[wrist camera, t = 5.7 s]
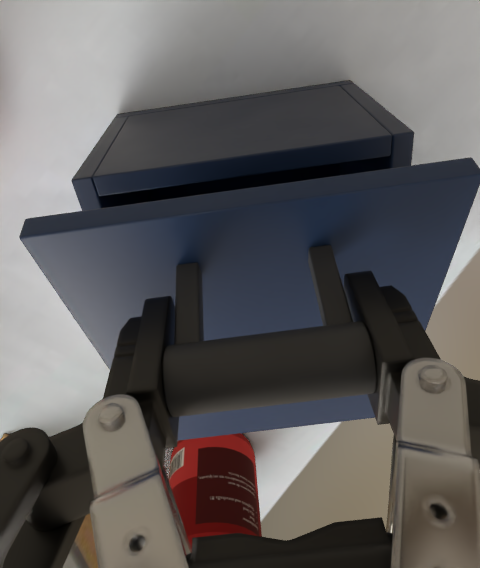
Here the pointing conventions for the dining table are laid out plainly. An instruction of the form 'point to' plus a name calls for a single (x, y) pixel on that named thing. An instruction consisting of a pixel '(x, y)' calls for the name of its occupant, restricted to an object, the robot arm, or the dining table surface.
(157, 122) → the navy blue open box
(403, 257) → the cool box lid
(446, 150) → the dining table surface
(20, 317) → the dining table surface
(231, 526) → the canned food
